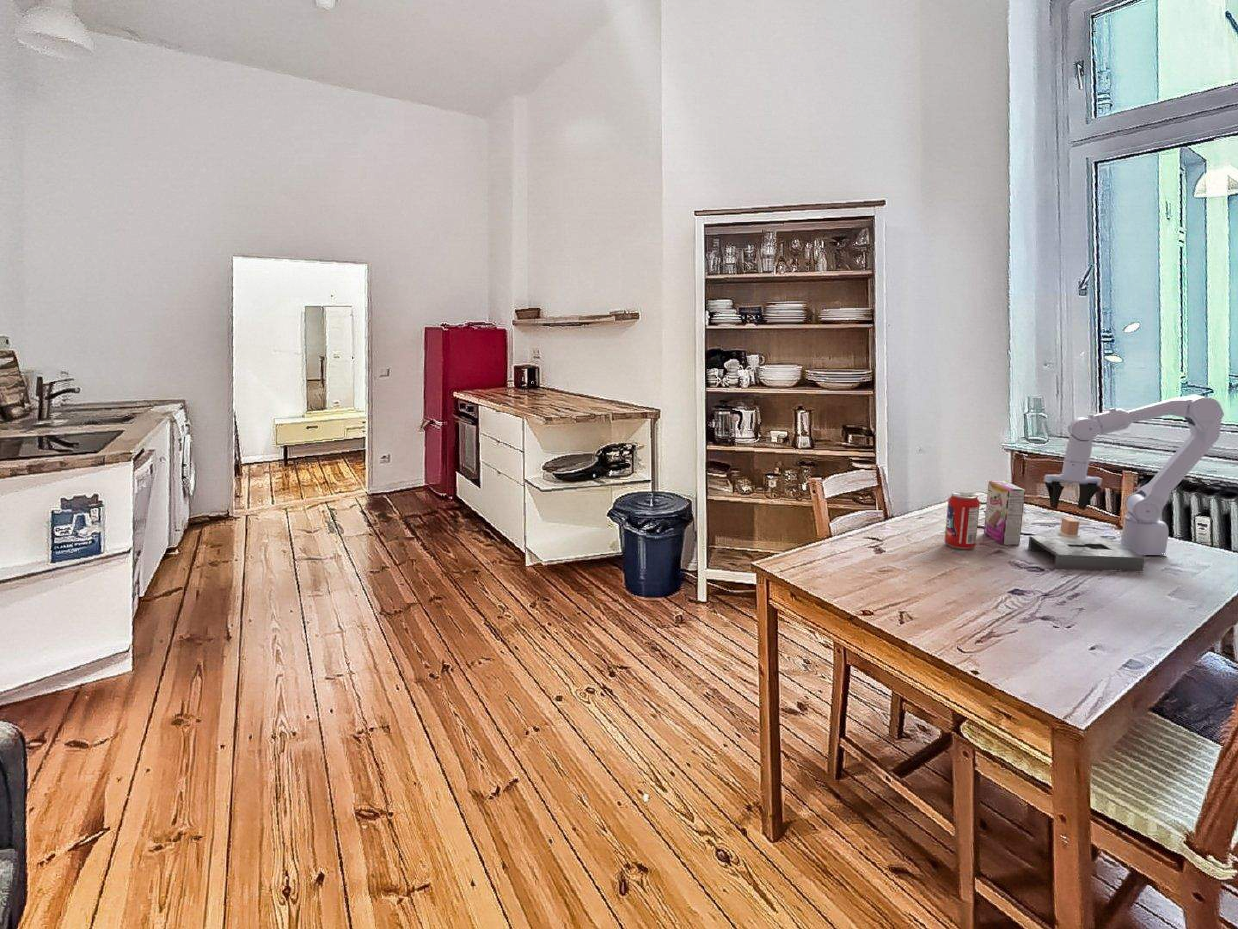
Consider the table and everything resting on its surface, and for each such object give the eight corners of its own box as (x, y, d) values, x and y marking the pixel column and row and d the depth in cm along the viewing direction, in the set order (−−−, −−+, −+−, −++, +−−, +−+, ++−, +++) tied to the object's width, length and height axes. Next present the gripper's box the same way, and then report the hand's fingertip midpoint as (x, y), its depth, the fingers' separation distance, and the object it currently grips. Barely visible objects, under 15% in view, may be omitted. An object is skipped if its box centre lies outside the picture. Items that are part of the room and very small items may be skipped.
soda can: (972, 552, 183) (977, 499, 180) (941, 547, 188) (946, 495, 185) (977, 545, 189) (982, 493, 186) (947, 540, 194) (952, 490, 191)
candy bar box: (982, 533, 200) (987, 480, 197) (999, 533, 200) (1004, 480, 196) (1002, 545, 189) (1008, 489, 186) (1020, 545, 189) (1026, 489, 185)
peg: (1072, 541, 192) (1076, 517, 191) (1082, 547, 187) (1086, 522, 186) (1052, 540, 193) (1055, 516, 192) (1062, 546, 188) (1065, 521, 186)
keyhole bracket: (1106, 551, 183) (1108, 538, 183) (1142, 572, 168) (1145, 557, 167) (1028, 548, 186) (1029, 535, 185) (1056, 568, 170) (1058, 554, 170)
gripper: (1093, 459, 189) (1084, 505, 192) (1041, 456, 189) (1033, 503, 192) (1110, 464, 182) (1100, 512, 185) (1056, 462, 182) (1047, 510, 185)
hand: (1067, 508), depth 188 cm, fingers open, 7 cm apart
